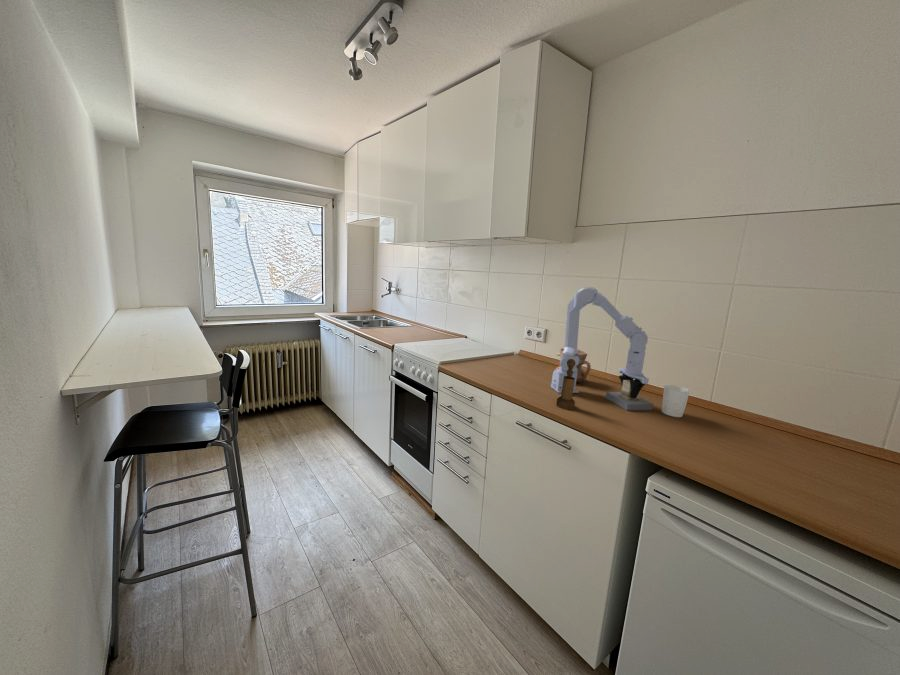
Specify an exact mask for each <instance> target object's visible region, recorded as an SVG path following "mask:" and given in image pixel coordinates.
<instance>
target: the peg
mask: <svg viewBox="0 0 900 675" xmlns="http://www.w3.org/2000/svg"><path fill="white" fill-rule="evenodd" d="M620 392H621V397H622V398H624V399H626V400H637V398H631V396H630V394H631V384H630V380H623V385H622V384H621V390H620Z"/></svg>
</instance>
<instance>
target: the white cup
mask: <svg viewBox="0 0 900 675" xmlns="http://www.w3.org/2000/svg"><path fill="white" fill-rule="evenodd" d="M690 391H691V390H690V389H689V388H687V387H683V386H680V385H674V384H666V385H664V388H663V395H662V396H663V397H662V403H661V404H662V406H661V413H662V414H664V415H667V416H670V417H674V418H682V417H683V415H684V412H685V409H686V405H687V402H688V399H689V396H690Z"/></svg>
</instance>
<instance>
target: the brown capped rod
mask: <svg viewBox="0 0 900 675" xmlns="http://www.w3.org/2000/svg"><path fill="white" fill-rule="evenodd" d="M567 366H568V370H567V376H564V379H563V386H562V393H560V395H561V396H559V397H557V398H556V404H555V405H556V406H557V407H559V408H560V409H563V410H574V409H575V406H576V401H575V399H573V394H574V393H573V388H574V382H575V378H574V377H572V375H573V371H572V369H573V367H574V366H575V360H573V359H569V360H568V361H567Z"/></svg>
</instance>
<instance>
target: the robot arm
mask: <svg viewBox="0 0 900 675" xmlns="http://www.w3.org/2000/svg"><path fill="white" fill-rule="evenodd" d="M589 304H592V305H593V306H597V307H600V308H601V309H603V310H604V311H605V312H606V313H607V315H609V317H611V318H612V319H613V320H614V321H615V322H614V326H615V327H616V328H617V329H618V330H619V331H620V332H621V334H622V335H623V336H625V337H626V338H627V339H629V343H630V344H629V349H628V352H627V357H626V365H625V368H624V367H619V368H618V374H621V375H619V376H618V378H619V380H620V383H621V386H622V385H623V380H630V384H631V394H630V396H631V398H637V396H639V394H640V392H641V390H642V389H643V387H644V386H645V385H647V384H649V379H650V378H648V377H646V376H645V375H644V373H643V368H644V363H645V356H646V349H647V347H646V346H647V344H648V339H649V337H648V334H647V333H646V331H644V330H643V328H642V327H641V326H640V327H639V326H638V325H637V323H636V322H634V321H633V320H634V318H633V316H631V317H630V316H628V315H623V314H621V313H620V311H618V309H617V308H616V307H615V306H614V305H613V304H612V303H611V302H610V301H609V299H608V298H607V297H606V296H605V295H603V294H602V293H601V292H599V290H597V289H596V288H595V287H592V286H590V287H588V286H586V287H582V288H580V289H579V290H577V291H576V292H575V293H574V296H573V297H572V298H571V300H570V301H569V302H568V304H567V308H566V310H567V311H566V322H565V324H566V325H565V337H564V348H563V349H564V351H563V355H562V358H561V357H560V359H559V366H560V369H558V370H555V369H554V370H553V371H552V372H553V373H552V376H551V384H550V386H549V387H550V388H551V389H553V391H555V392H557V393H558V394H561V393H562V386H563V379H564V376H567V370H568V366H567V361H568V360H569V359H573V360H575V366H574V367H573V369H572V371H573V375H572V377H574V378H575V382H574V388H573V394H574V393H575V394H579V393H580V391H579V390H577V389H576V385H577V382H576V379H577V372H578V370H577V367H576V366H577V365H578V364H579V362H580V359H579V356H578V342H579V340H578V338H579V326H580V315H581V314H580V313H581V312H580V311H581V310H582V309H583V308H584V307H586V306H587V305H589Z"/></svg>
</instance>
